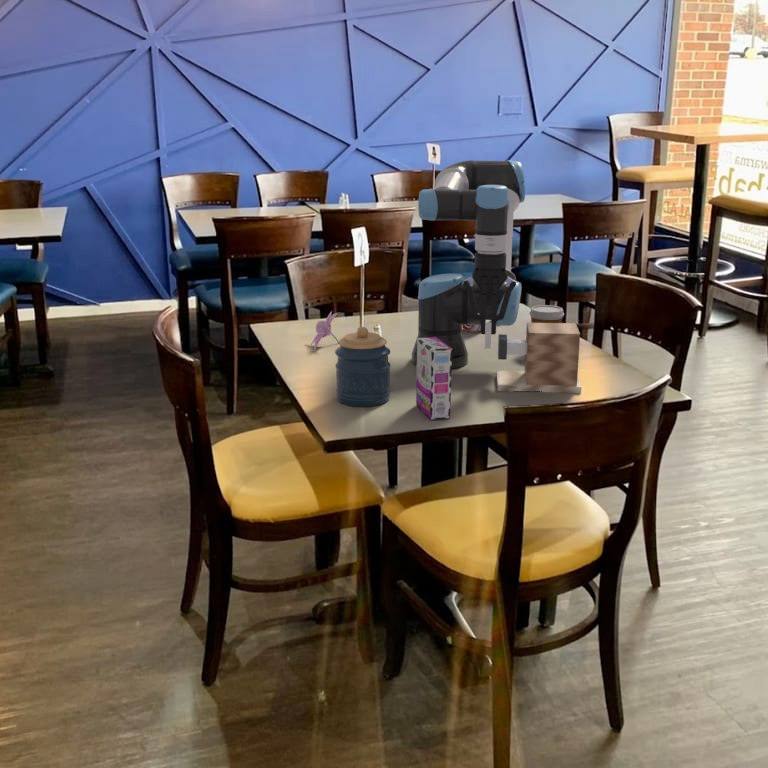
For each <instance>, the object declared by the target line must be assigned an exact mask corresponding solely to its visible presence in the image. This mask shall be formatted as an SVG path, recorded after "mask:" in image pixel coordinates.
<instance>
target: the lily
mask: <svg viewBox="0 0 768 768" xmlns="http://www.w3.org/2000/svg"><path fill="white" fill-rule="evenodd" d="M332 312H333V311H332V310H331V311H330V313H329V314H328V315H327V317H326V318H325V320H319V321H317V323H316V324H315V332H316V333H317V334H316V335H315V336H314V339H313V340H312V342H311V344H314V346H313V348H314V350H316V348H317V347H318V345H319V343H320V342H321V340H322V338H326V337H329V336H332V337H333V338H334V339H335V340H336V343H338V342H339V340H338V339H337V337H336V336H335V335H334V333H332V327H331V324H332V322H333V320H334V319H335V317H336V316H337V314H338V313H337V312H335V313H333V314H332ZM338 345H339V343H338Z"/></svg>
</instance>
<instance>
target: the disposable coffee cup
mask: <svg viewBox="0 0 768 768" xmlns="http://www.w3.org/2000/svg"><path fill="white" fill-rule="evenodd" d="M528 314H529V315H530V320H531V322H530V323H563V318H564V316H565V313H564V309H563V307H560V306H556V305H551V304H549V305H548V304H545V305H543V304H540V305H534V306H532V307H531V309H530V311H529V313H528Z"/></svg>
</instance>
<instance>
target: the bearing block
mask: <svg viewBox="0 0 768 768" xmlns="http://www.w3.org/2000/svg"><path fill="white" fill-rule="evenodd" d="M525 334H526V335H525V336H526V337H525V340H528V350H527V355H524V356H525V359H524V361H525V362H524V370H523V371H522V370H496V385H497V387H498V388H497V387H496V388H497V391H498V392H513V391H540V392H539V393H559V394H560V393H562V394H564V393H565V394H566V393H567V394H582V385H581V382H580V379H579V376H578V375H579V373H578V371H579V356H580V342H581V341H580V340H581V332H580V331H579V328H578V326H577V324H576V323H575V322H574V323H568V322H565V323H564V322H561V323H531V322H526V333H525ZM541 391H542V392H541Z"/></svg>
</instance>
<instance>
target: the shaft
mask: <svg viewBox="0 0 768 768" xmlns="http://www.w3.org/2000/svg"><path fill="white" fill-rule="evenodd" d="M497 340H498V342H497V359H498V360H506V361H507V357H508V356H507V355H512V356H525V355H527V350H528V340H526V339H508V335H507V334H502V333H501V334H498V338H497Z"/></svg>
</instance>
